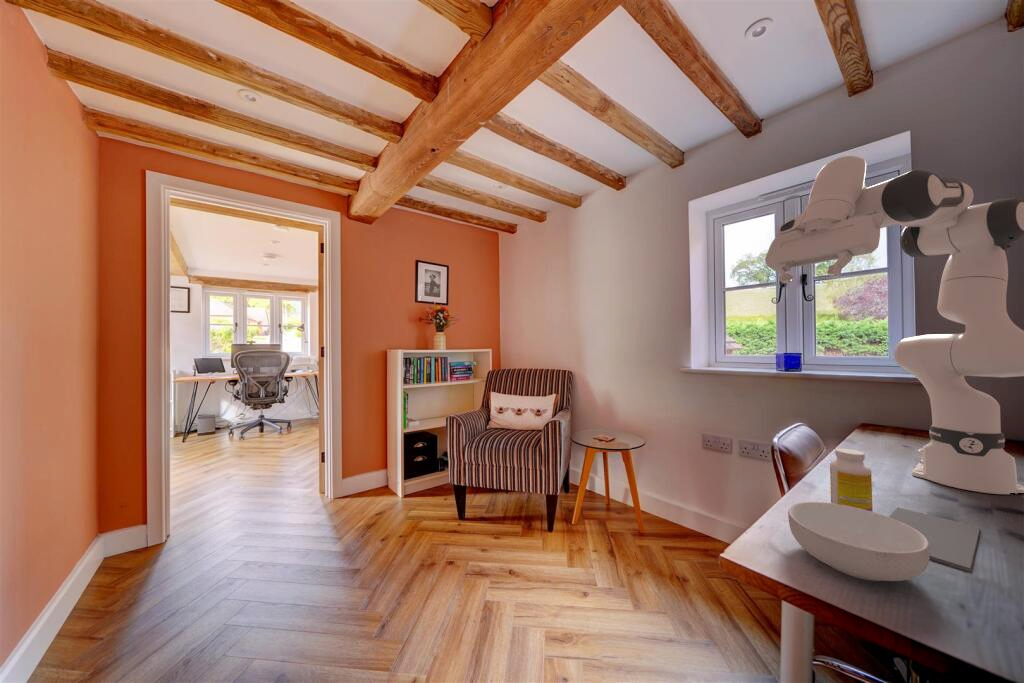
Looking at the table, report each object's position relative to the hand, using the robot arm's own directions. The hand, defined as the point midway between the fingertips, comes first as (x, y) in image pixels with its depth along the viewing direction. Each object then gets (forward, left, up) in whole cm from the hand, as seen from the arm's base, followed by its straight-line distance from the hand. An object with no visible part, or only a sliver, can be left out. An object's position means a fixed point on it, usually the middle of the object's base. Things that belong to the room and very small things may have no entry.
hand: (807, 278), depth 78 cm
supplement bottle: (-8, +6, -51) cm, 52 cm away
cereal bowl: (+19, +6, -51) cm, 55 cm away
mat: (-3, +17, -51) cm, 53 cm away
